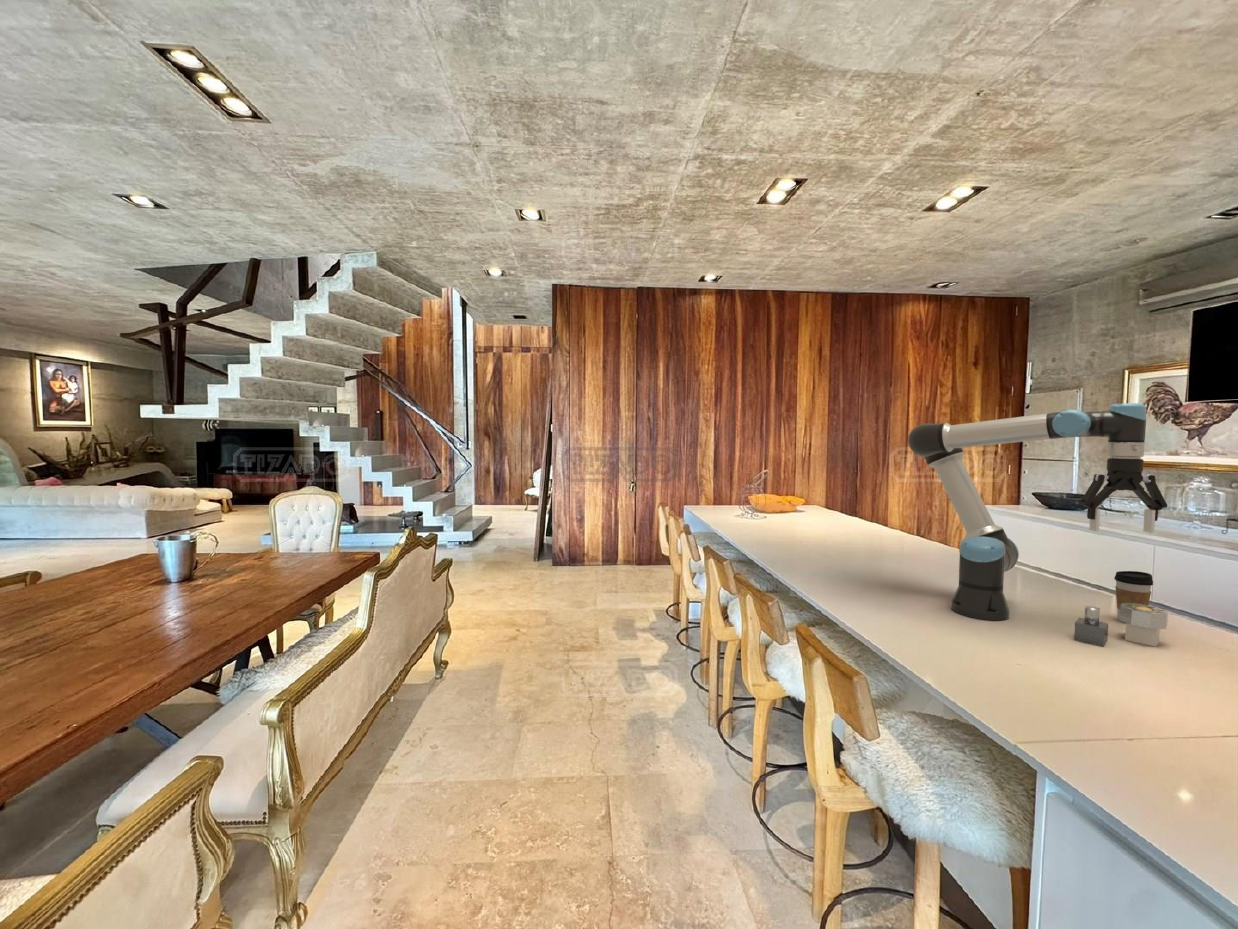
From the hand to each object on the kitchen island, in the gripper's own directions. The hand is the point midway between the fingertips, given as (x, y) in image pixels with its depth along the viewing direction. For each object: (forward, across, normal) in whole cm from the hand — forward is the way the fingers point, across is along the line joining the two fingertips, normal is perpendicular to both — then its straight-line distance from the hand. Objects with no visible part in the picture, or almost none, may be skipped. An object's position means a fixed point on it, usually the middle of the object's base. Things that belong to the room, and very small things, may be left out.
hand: (1121, 531), depth 150 cm
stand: (+29, -13, -11) cm, 33 cm away
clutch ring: (+24, +1, -8) cm, 25 cm away
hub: (+29, +1, -8) cm, 30 cm away
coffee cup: (+29, +9, +8) cm, 31 cm away
